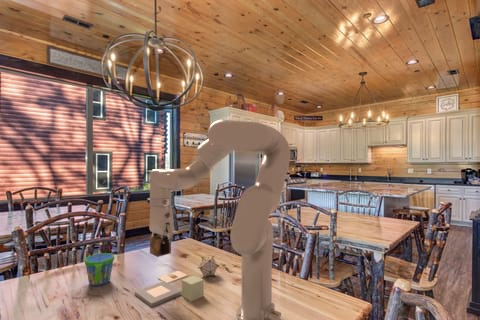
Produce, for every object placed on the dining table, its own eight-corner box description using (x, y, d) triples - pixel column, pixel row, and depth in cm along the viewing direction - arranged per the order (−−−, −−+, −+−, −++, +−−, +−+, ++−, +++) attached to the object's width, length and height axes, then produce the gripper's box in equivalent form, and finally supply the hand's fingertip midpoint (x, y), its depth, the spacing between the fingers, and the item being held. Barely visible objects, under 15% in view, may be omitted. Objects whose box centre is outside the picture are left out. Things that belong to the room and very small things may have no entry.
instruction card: (187, 275, 116) (187, 274, 116) (166, 283, 109) (166, 282, 109) (178, 271, 121) (178, 270, 121) (157, 278, 113) (157, 277, 113)
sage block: (203, 296, 99) (203, 279, 99) (191, 301, 95) (191, 284, 95) (194, 291, 103) (194, 275, 103) (181, 296, 99) (181, 279, 99)
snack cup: (111, 289, 104) (111, 262, 104) (79, 293, 101) (79, 266, 101) (116, 273, 119) (116, 249, 119) (89, 276, 115) (89, 252, 115)
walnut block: (171, 253, 101) (171, 237, 101) (157, 257, 97) (157, 240, 97) (163, 249, 104) (163, 234, 104) (149, 253, 101) (149, 237, 101)
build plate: (181, 294, 100) (181, 290, 100) (151, 307, 91) (151, 303, 91) (164, 284, 108) (164, 280, 108) (134, 294, 100) (134, 291, 100)
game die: (211, 286, 114) (214, 273, 109) (193, 277, 116) (195, 263, 110) (220, 269, 122) (223, 255, 116) (203, 260, 123) (205, 247, 117)
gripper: (182, 204, 97) (182, 254, 97) (158, 199, 109) (158, 244, 109) (163, 206, 92) (163, 260, 92) (140, 201, 104) (140, 248, 104)
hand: (160, 251), depth 101 cm, fingers closed on walnut block, 5 cm apart
